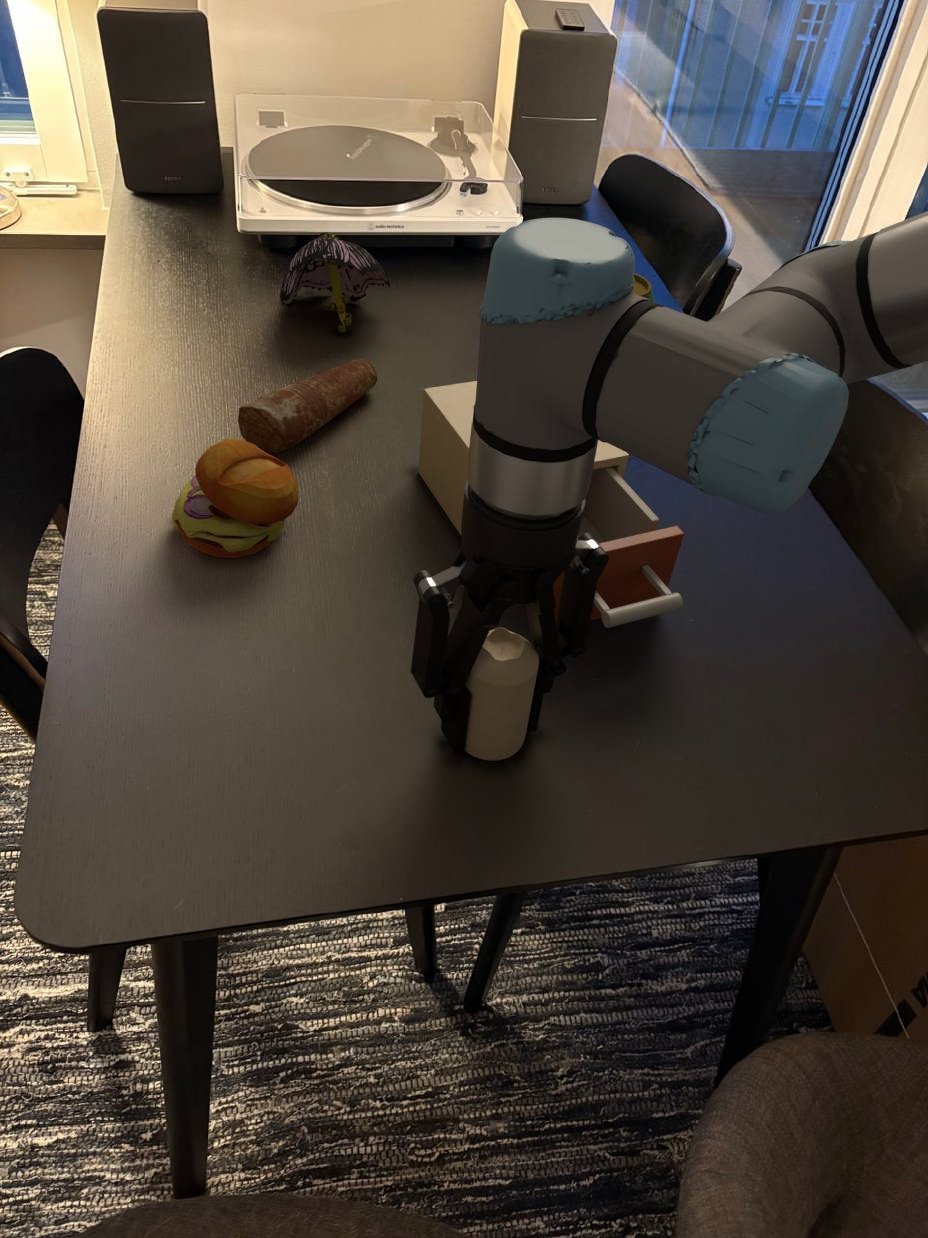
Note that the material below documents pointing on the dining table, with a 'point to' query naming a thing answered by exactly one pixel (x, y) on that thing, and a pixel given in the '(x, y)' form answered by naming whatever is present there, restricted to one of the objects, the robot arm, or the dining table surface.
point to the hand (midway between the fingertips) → (488, 729)
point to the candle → (500, 695)
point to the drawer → (627, 553)
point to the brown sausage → (304, 406)
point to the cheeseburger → (235, 500)
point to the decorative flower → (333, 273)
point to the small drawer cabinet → (466, 446)
